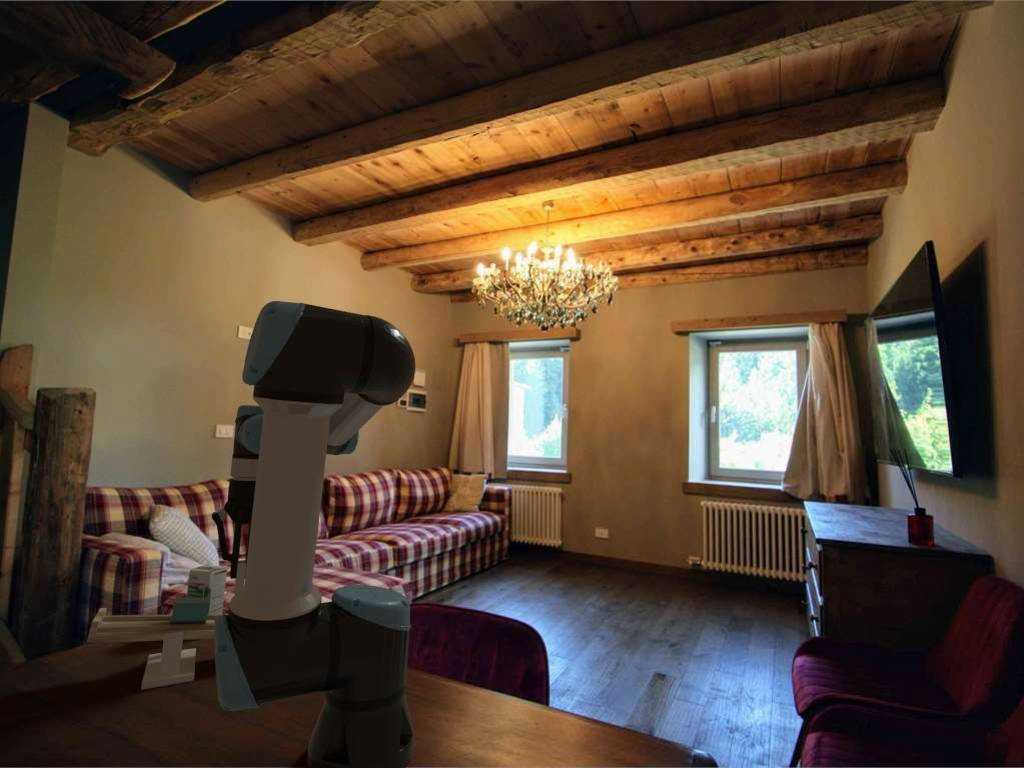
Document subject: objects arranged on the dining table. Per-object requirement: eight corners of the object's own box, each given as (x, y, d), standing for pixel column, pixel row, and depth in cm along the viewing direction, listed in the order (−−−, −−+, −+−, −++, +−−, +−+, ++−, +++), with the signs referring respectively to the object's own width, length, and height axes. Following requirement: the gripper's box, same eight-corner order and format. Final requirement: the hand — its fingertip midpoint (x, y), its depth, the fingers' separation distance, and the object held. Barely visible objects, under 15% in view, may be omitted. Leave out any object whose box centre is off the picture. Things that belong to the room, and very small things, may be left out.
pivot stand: (193, 680, 95) (198, 632, 96) (141, 689, 91) (147, 639, 92) (195, 654, 106) (199, 611, 107) (148, 660, 102) (153, 616, 103)
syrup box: (180, 636, 115) (187, 569, 117) (200, 626, 121) (207, 563, 122) (202, 638, 114) (210, 571, 116) (221, 629, 120) (228, 565, 121)
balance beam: (246, 654, 101) (253, 619, 103) (81, 662, 89) (91, 622, 90) (243, 638, 109) (250, 606, 110) (91, 643, 96) (100, 607, 97)
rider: (204, 627, 100) (210, 603, 101) (168, 628, 97) (174, 603, 98) (204, 620, 104) (210, 597, 104) (170, 621, 101) (175, 597, 102)
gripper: (281, 476, 114) (271, 585, 112) (214, 476, 108) (201, 592, 105) (285, 480, 108) (274, 595, 106) (214, 480, 101) (201, 603, 99)
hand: (238, 593), depth 106 cm, fingers closed
